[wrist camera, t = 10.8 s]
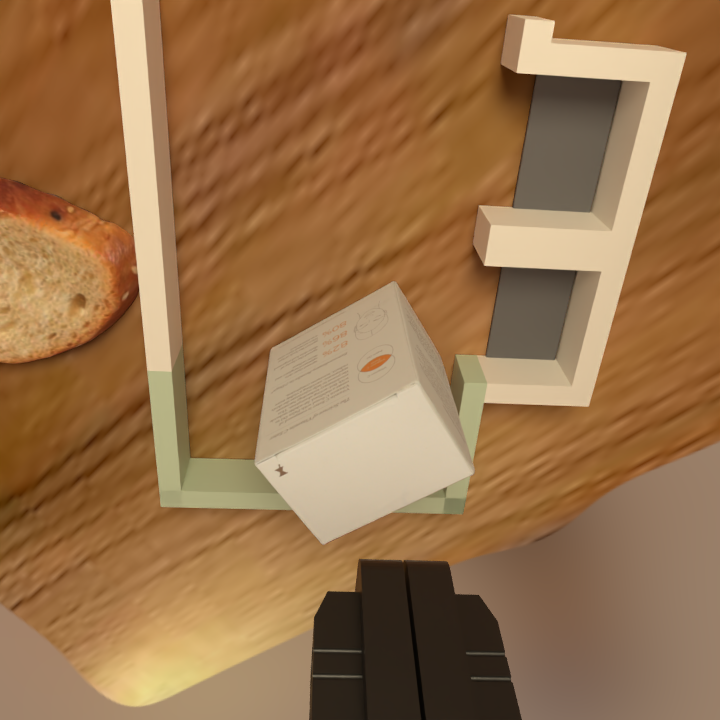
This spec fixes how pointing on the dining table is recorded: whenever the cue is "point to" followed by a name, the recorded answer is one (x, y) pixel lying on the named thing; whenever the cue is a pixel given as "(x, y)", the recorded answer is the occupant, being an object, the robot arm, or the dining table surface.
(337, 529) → the small box
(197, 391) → the dining table surface
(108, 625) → the dining table surface
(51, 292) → the bread slice
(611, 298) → the channel
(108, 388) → the dining table surface
